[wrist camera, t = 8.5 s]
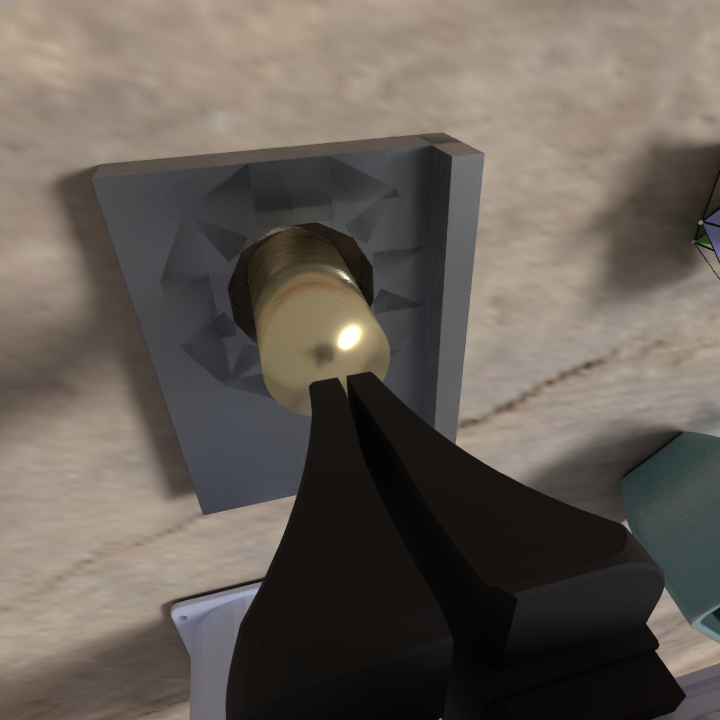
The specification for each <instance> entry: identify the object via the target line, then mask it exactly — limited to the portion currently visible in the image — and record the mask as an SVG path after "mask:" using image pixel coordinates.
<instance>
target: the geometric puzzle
mask: <svg viewBox="0 0 720 720" xmlns="http://www.w3.org/2000/svg"><path fill="white" fill-rule="evenodd" d="M719 174H720V171H719ZM719 174H718V176H717V179H716V182H715V185H716V183H717V180H718V177H719ZM715 185H714V187H713V190H712V193H711V195H710V198H709V201H708V204H707V206H706V209H705V212H704V215H703V217H702V220H700V221H699V224H700V226H701V225H702V226H703V228H704V230H705V232H706V233H705V234H704V235H702V236H701V237H699V238H698V239H696V237H697V234H698V232H699V229H700V226H699V228H698V231H697V234H696V237H695V239H694V240H693V241H692V243H693V244H695V245H696V244H697V245H700V246H702V247H704V248H707V249H709V250H712V251H714V252H715V254H716V257H717V259H718V261H719V263H720V207H718V208H717V209H716V210H714V211H713V212H712V213H710V214H709V215H708V216H706V217H705V218H704V216H705V213H706V210H707V207H708V205H709V202H710V199H711V196H712V194H713V191H714V188H715ZM703 218H704V219H703ZM699 243H705V244H711V246H712V248H713V249H711V248H709V247H706V246H704V245H702V244H699ZM697 245H696V247H697ZM697 248H698V247H697ZM698 249H699V248H698ZM699 251H700V250H699ZM700 252H701V251H700ZM701 254H702V253H701ZM702 255H703V254H702ZM703 257H704V255H703ZM704 258H705V257H704ZM705 259H706V258H705ZM706 261H707V260H706ZM707 262H708V261H707ZM708 264H709V263H708ZM709 265H710V264H709ZM710 267H711V265H710ZM711 268H712V267H711ZM712 270H713V268H712ZM713 271H714V270H713ZM714 272H715V271H714ZM715 274H716V273H715ZM716 275H717V274H716ZM717 277H718V275H717ZM718 278H719V277H718ZM719 280H720V278H719Z"/></svg>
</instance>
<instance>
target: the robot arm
mask: <svg viewBox="0 0 720 720" xmlns="http://www.w3.org/2000/svg"><path fill="white" fill-rule="evenodd" d="M346 379H347V394H346V392H345V390H344V388H343V386H342V384H341V382H340V380H339V379H338V377H336V378H330V379H325V380H319V381H314V382H312V383H311V384H310V385H309V393H310V401H311V410H312V419H311V429H310V438H309V445H308V450H307V456H306V461H305V466H304V471H303V475H302V479H301V483H300V486H299V490H298V493H297V497H296V500H295V503H294V506H293V509H292V512H291V515H290V518H289V521H288V524H287V527H286V529H285V532H284V534H283V537H282V540H281V542H280V544H279V547H278V549H277V551H276V553H275V556H274V558H273V560H272V562H271V565H270V567H269V569H268V571H267V574H266V576H265V578H264V580H263V581H262V582H258V583H254V584H250V585H246V586H242V587H238V588H234V589H230V590H226V591H222V592H218V593H214V594H210V595H206V596H202V597H198V598H194V599H190V600H186V601H182V602H178V603H175V604H174V605H173V606H172V607H171V617H172V619H173V621H174V623H175V625H176V627H177V630H178V632H179V634H180V636H181V638H182V640H183V642H184V644H185V646H186V648H187V651H188V653H189V655H190V657H191V679H190V720H439V719H440V718H442V720H720V663H719V664H716V665H713V666H710V667H707V668H704V669H701V670H698V671H695V672H692V673H689V674H686V675H683V676H680V677H677V678H674V677H673V676H672V674H671V673H670V671H669V670H668V669H667V667H666V666H665V664H664V663H663V662H662V660H661V659H660V657H659V656H658V654H657V653H656V652H655V650H657V649H658V647H659V643H658V640H657V638H656V637H655V636H654V634H653V633H652V631H651V630H650V629H649V627H648V626H647V625H646V622H647V621H648V619H649V617H650V615H651V613H652V612H653V610H654V608H655V606H656V604H657V603H658V601H659V599H660V597H661V595H662V592H663V589H664V586H665V576H664V572H663V571H662V569H661V568H660V567H659V566H658V564H657V563H656V562H655V561H654V560H653V558H652V557H651V556H650V554H649V553H648V552H647V551H646V549H645V548H644V547H643V546H642V544H641V543H640V542H639V541H638V540H637V539H636V538H635V537H634V536H633V535H632V534H631V533H630V531H629V530H628V529H627V528H626V527H625V526H624V525H622V524H619V523H617V522H614V521H611V520H608V519H605V518H603V517H600V516H597V515H594V514H592V513H589V512H586V511H583V510H580V509H578V508H575V507H572V506H570V505H568V504H565V503H563V502H561V501H558V500H556V499H554V498H551V497H549V496H547V495H544V494H542V493H540V492H538V491H536V490H534V489H531V488H529V487H527V486H525V485H523V484H521V483H519V482H517V481H516V480H514V479H512V478H510V477H508V476H506V475H504V474H502V473H500V472H498V471H497V470H495V469H493V468H491V467H490V466H488V465H486V464H484V463H483V462H481V461H480V460H478V459H476V458H475V457H473V456H472V455H470V454H469V453H467V452H466V451H464V450H463V449H461V448H460V447H458V446H457V445H455V444H454V443H453V442H451V441H450V440H449V439H447V438H446V437H445V436H443V435H442V434H441V433H439V432H438V431H437V430H435V429H434V428H433V427H432V426H430V425H429V424H428V423H427V422H426V421H424V420H423V419H422V418H421V417H420V416H419V415H417V414H416V413H415V412H414V411H413V410H411V409H410V408H409V407H408V406H407V405H406V404H405V403H404V402H403V401H401V400H400V399H399V398H398V397H397V396H396V395H395V394H394V393H393V392H392V391H391V390H390V389H389V388H388V387H387V386H386V385H385V384H384V383H383V382H382V381H381V380H380V379H379V378H378V377H377V376H376V375H375V374H374V373H372V372H371V371H369V372H364V373H358V374H353V375H347V376H346ZM347 395H348V397H347Z"/></svg>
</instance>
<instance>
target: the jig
mask: <svg viewBox="0 0 720 720" xmlns="http://www.w3.org/2000/svg"><path fill="white" fill-rule="evenodd" d="M483 163H484V153H483V152H481V151H479V150H477V149H475V148H473V147H471V146H469V145H467V144H465V143H463V142H461V141H459V140H457V139H455V138H453V137H451V136H449V135H447V134H445V133H432V134H422V135H411V136H400V137H390V138H379V139H368V140H358V141H347V142H336V143H326V144H315V145H304V146H294V147H283V148H272V149H262V150H251V151H241V152H230V153H219V154H209V155H198V156H187V157H177V158H166V159H155V160H145V161H134V162H123V163H113V164H102V165H100V166H99V168H98V169H97V170H96V172H95V173H94V175H93V176H92V178H91V180H92V183H93V186H94V189H95V192H96V195H97V198H98V201H99V204H100V207H101V210H102V213H103V216H104V219H105V222H106V225H107V228H108V231H109V234H110V237H111V240H112V243H113V246H114V249H115V252H116V255H117V258H118V261H119V264H120V267H121V270H122V273H123V276H124V279H125V282H126V285H127V288H128V291H129V294H130V297H131V300H132V303H133V306H134V309H135V312H136V315H137V318H138V321H139V324H140V327H141V330H142V333H143V336H144V339H145V342H146V345H147V348H148V351H149V354H150V357H151V360H152V363H153V366H154V369H155V372H156V375H157V378H158V381H159V384H160V387H161V390H162V393H163V396H164V399H165V402H166V405H167V408H168V411H169V414H170V417H171V420H172V423H173V426H174V429H175V432H176V435H177V438H178V441H179V444H180V447H181V450H182V453H183V456H184V459H185V462H186V465H187V468H188V471H189V474H190V477H191V480H192V483H193V486H194V489H195V492H196V495H197V498H198V501H199V504H200V507H201V510H202V513H203V515H207V514H212V513H216V512H221V511H226V510H230V509H235V508H239V507H244V506H248V505H253V504H257V503H262V502H266V501H271V500H275V499H280V498H285V497H289V496H294V495H297V493H298V490H299V486H300V483H301V479H302V475H303V471H304V466H305V461H306V456H307V450H308V445H309V438H310V429H311V419H312V416H308V415H302V414H299V413H295V412H293V411H291V410H288V409H287V408H285V407H283V406H282V405H280V404H279V403H278V402H277V401H276V400H275V399H274V398H273V397H272V396H271V394H270V393H269V391H268V389H267V387H266V385H265V382H264V378H263V372H262V366H261V359H260V353H259V347H258V341H257V334H256V328H255V325H254V323H253V322H252V321H251V320H250V319H249V318H248V317H247V316H246V315H245V314H244V313H243V312H242V311H241V310H240V309H239V308H238V307H237V306H236V305H235V304H234V303H233V302H232V297H231V292H230V287H229V282H230V280H231V277H232V275H233V272H234V270H235V267H236V265H237V263H238V260H239V258H240V255H241V253H242V252H243V251H244V250H245V249H247V248H248V247H249V246H251V245H252V244H253V243H255V242H256V241H257V240H259V239H260V238H261V237H263V236H264V235H266V234H267V233H268V232H270V231H271V230H272V229H274V228H275V227H282V226H290V225H298V224H307V223H315V222H317V223H320V224H322V225H324V226H327V227H329V228H331V229H334V230H336V231H338V232H341V233H343V234H345V235H348V236H350V237H353V239H354V240H355V241H356V243H357V244H358V246H359V247H360V249H361V250H362V274H363V283H362V285H361V287H360V291H361V293H362V295H363V296H364V298H365V300H366V302H367V303H368V305H369V307H370V309H371V311H372V312H373V314H374V316H375V318H376V320H377V321H378V323H379V325H380V327H381V329H382V330H383V332H384V334H385V336H386V338H387V341H388V344H389V348H390V363H389V367H388V371H387V373H386V376H385V378H384V380H383V383H384V384H385V385H386V386H387V387H388V388H389V389H390V390H391V391H392V392H393V393H394V394H395V395H396V396H397V397H398V398H399V399H400V400H401V401H403V402H404V403H405V404H406V405H407V406H408V407H409V408H410V409H411V410H413V411H414V412H415V413H416V414H417V415H419V416H420V417H421V418H422V419H423V420H424V421H426V422H427V423H428V424H429V425H430V426H432V427H433V428H434V429H435V430H437V431H438V432H439V433H441V434H442V435H443V436H445V437H446V438H447V439H449V440H450V441H451V442H453V443H454V444H455V443H456V433H457V423H458V413H459V403H460V393H461V383H462V373H463V363H464V353H465V343H466V333H467V323H468V313H469V303H470V293H471V283H472V273H473V263H474V253H475V243H476V233H477V223H478V213H479V203H480V193H481V183H482V173H483Z"/></svg>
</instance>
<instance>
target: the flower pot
mask: <svg viewBox="0 0 720 720" xmlns="http://www.w3.org/2000/svg"><path fill="white" fill-rule="evenodd" d="M621 494H622V502H623V508H624V512H625V516H626V519H627V522H628V524H629V527H630V530H631V532H632V534H633V536H634V537H635V538H636V539H637V540H638V541H639V542H640V543H641V544H642V546H643V547H644V548H645V549H646V551H647V552H648V553H649V554H650V556H651V557H652V558H653V560H654V561H655V562H656V563H657V564H658V566H659V567H660V568H661V569H662V571H663V572H664V576H665V588H666V589H667V591H668V593H669V594H670V595H671V597H672V598H673V600H674V601H675V603H676V605H677V606H678V608H679V609H680V611H681V612H682V614H683V615H684V617H685V618H686V620H687V621H688V623H689V624H690V626H691V627H692V628H694V629H696V630H698V631H699V632H701V633H703V634H705V635H706V636H708V637H709V638H711V639H713V640H715V641H716V642H718V643H719V644H720V438H719V437H715V436H711V435H706V434H701V433H694V432H685V433H683V434H681V435H680V436H678V437H677V438H676V439H674V440H673V441H672V442H670V443H669V444H668V445H667V446H665V447H664V448H663V449H661V450H660V451H659V452H657V453H656V454H655V455H653V456H652V457H651V458H649V459H648V460H647V461H645V462H644V463H643V464H641V465H640V466H639V467H637V468H636V469H635V470H633V471H632V472H630V473H629V474H628V475H627V476H625V477H624V478H623V479H622V481H621Z"/></svg>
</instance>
